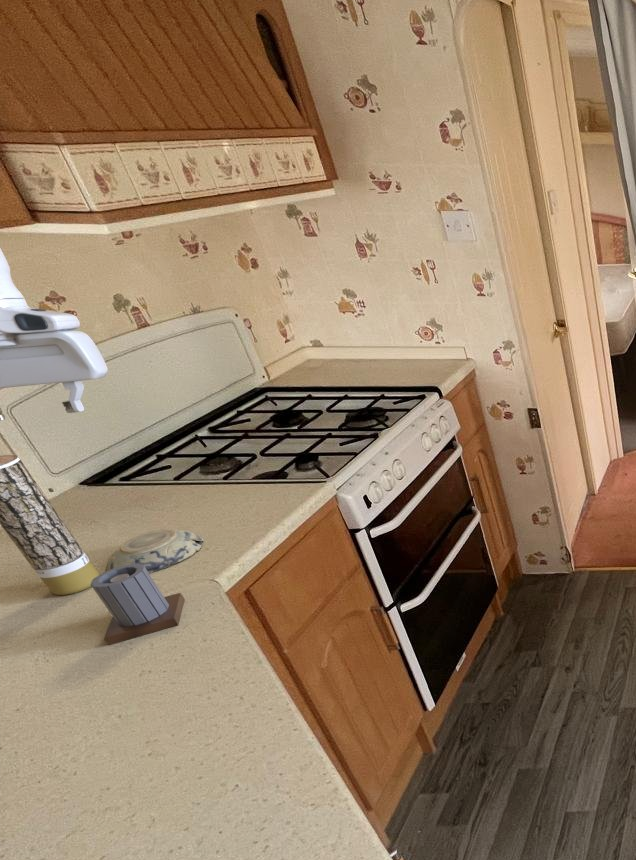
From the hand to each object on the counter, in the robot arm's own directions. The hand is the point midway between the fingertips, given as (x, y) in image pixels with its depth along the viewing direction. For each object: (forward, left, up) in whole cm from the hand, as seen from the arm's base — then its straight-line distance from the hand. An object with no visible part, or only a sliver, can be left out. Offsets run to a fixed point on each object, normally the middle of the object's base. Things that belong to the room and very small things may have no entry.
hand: (36, 416), depth 103 cm
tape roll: (0, -9, -33) cm, 34 cm away
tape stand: (0, -9, -34) cm, 35 cm away
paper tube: (-13, +13, -34) cm, 39 cm away
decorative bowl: (-2, +18, -34) cm, 39 cm away
